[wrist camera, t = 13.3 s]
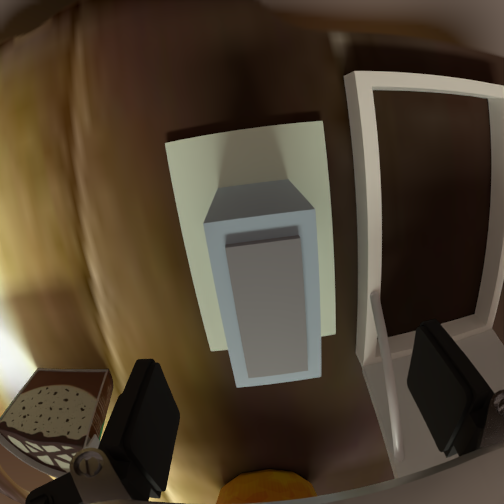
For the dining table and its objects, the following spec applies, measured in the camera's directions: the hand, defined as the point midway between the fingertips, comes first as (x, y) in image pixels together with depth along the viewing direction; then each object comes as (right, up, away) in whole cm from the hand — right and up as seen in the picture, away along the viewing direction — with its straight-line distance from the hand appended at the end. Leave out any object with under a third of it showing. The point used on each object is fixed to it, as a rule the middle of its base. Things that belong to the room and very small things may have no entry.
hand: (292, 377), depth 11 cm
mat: (-1, +5, +12) cm, 13 cm away
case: (+13, +5, +12) cm, 19 cm away
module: (-1, +4, +11) cm, 12 cm away
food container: (-19, -10, +17) cm, 27 cm away
